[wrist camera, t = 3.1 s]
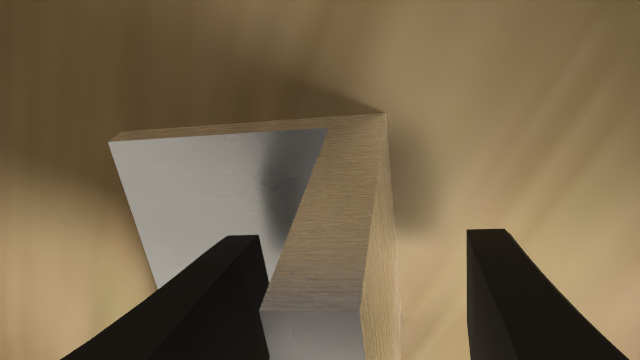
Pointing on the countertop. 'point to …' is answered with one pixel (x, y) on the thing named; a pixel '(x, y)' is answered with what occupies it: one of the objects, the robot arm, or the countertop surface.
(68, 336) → the countertop surface
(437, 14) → the countertop surface
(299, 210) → the bracket
